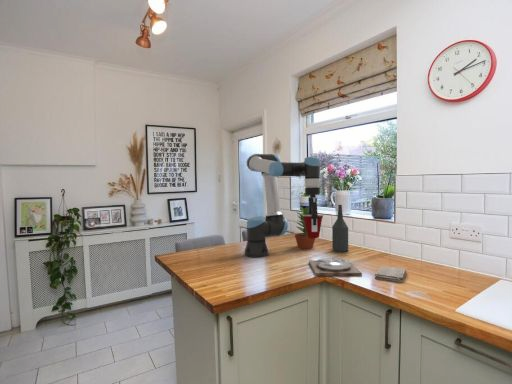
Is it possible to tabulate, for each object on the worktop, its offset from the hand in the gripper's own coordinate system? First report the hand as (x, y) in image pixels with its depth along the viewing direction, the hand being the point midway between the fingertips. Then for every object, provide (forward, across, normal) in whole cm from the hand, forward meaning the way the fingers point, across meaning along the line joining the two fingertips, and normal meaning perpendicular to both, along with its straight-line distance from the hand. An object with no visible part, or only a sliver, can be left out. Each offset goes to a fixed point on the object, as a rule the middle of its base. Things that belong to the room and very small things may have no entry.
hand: (313, 230), depth 149 cm
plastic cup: (+4, 0, 0) cm, 4 cm away
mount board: (+21, +1, -10) cm, 23 cm away
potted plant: (+20, +50, 0) cm, 54 cm away
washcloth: (+22, -8, -35) cm, 42 cm away
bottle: (+20, +42, -22) cm, 52 cm away
